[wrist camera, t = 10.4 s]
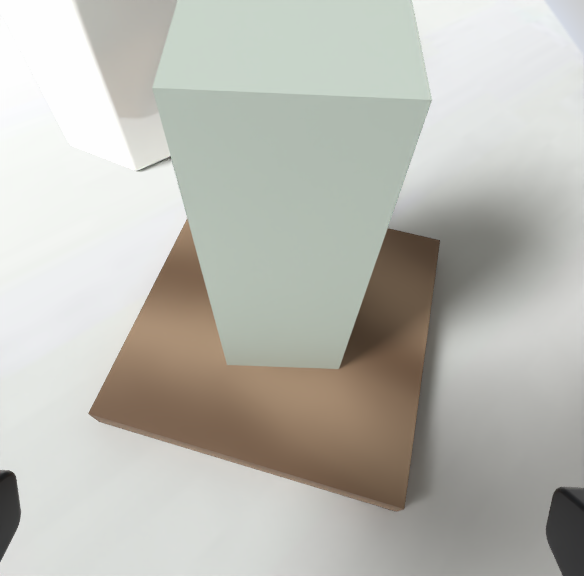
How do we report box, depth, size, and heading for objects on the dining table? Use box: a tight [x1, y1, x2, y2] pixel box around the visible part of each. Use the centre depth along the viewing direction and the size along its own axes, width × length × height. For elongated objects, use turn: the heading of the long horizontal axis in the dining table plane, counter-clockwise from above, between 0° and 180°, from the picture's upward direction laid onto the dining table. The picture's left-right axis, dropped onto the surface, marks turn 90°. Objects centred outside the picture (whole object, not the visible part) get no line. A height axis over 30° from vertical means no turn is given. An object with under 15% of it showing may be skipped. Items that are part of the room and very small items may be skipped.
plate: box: [88, 218, 440, 511], centre depth 20 cm, size 12×12×1 cm
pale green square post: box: [152, 0, 432, 369], centre depth 14 cm, size 4×4×12 cm
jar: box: [0, 0, 178, 171], centre depth 22 cm, size 9×8×12 cm
